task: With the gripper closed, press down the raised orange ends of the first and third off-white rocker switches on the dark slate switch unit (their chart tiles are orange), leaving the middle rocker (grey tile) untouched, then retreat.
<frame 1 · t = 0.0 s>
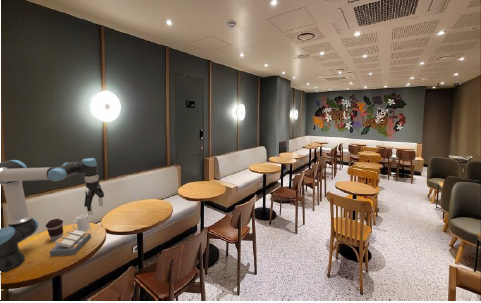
hand: (96, 210, 150), 28 cm above the table, fingers open, 13 cm apart
mug: (81, 230, 177), on the table
switch unit: (72, 246, 156), on the table
rocker 1: (65, 242, 149), point 7 cm above the table, hinge at 20.0°
rocker 3: (76, 233, 161), point 7 cm above the table, hinge at 20.0°
coffee cup: (57, 239, 166), on the table
rocker 2: (70, 237, 155), point 7 cm above the table, hinge at 20.0°
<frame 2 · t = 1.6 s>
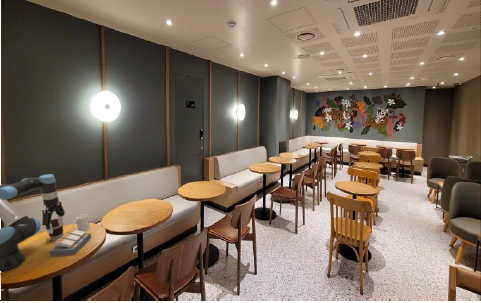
hand: (56, 229, 146), 18 cm above the table, fingers open, 10 cm apart
nothing on the table moved.
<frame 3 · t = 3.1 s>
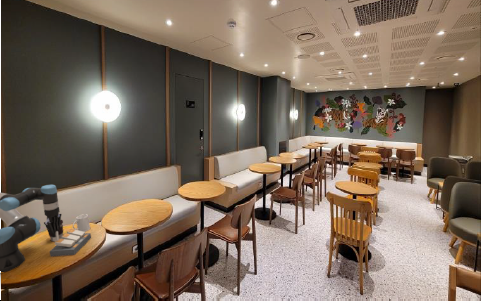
hand: (56, 240, 148), 9 cm above the table, fingers closed
rocker 1: (65, 242, 149), point 7 cm above the table, hinge at 13.6°, touching gripper
everything else where it was.
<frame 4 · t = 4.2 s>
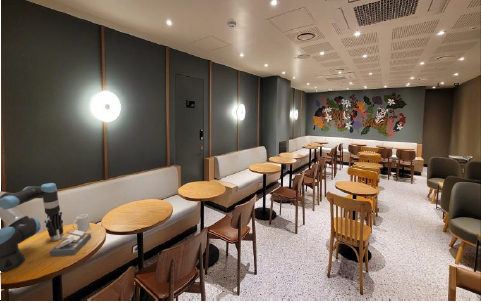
hand: (57, 238, 148), 10 cm above the table, fingers closed
rocker 1: (64, 242, 149), point 7 cm above the table, hinge at -23.8°
everything else where it was.
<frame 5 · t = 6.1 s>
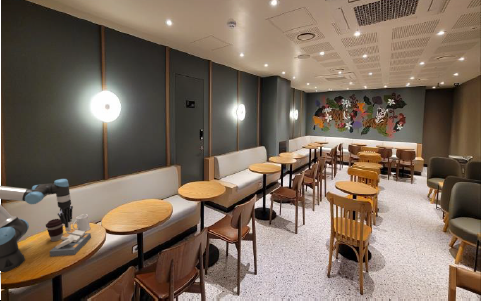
hand: (68, 230, 160), 9 cm above the table, fingers closed
rocker 1: (64, 242, 149), point 7 cm above the table, hinge at -24.4°
rocker 3: (76, 233, 161), point 7 cm above the table, hinge at 16.5°, touching gripper
everything else where it was.
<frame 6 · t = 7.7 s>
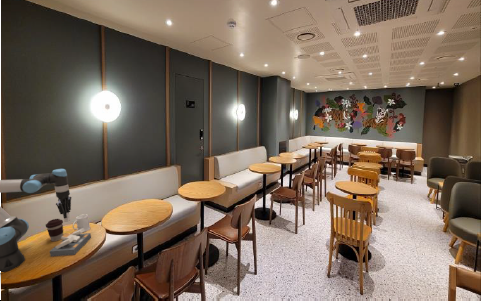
hand: (67, 221, 158), 17 cm above the table, fingers closed
rocker 3: (76, 233, 161), point 7 cm above the table, hinge at -21.1°
everything else where it was.
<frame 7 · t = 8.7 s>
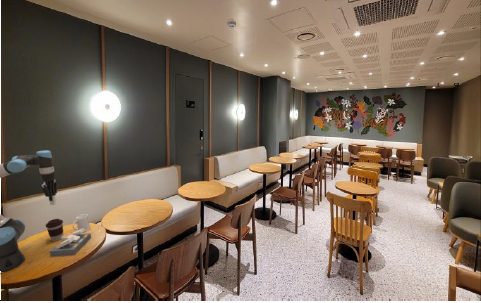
hand: (53, 204, 155), 30 cm above the table, fingers closed
rocker 3: (76, 233, 161), point 7 cm above the table, hinge at -20.2°
everything else where it was.
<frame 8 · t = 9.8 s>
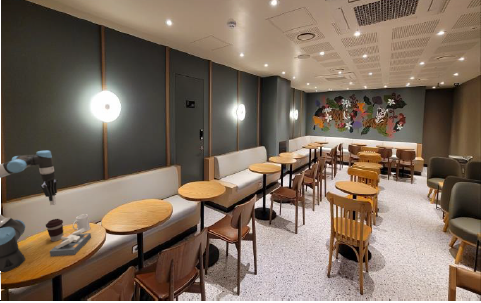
hand: (53, 204, 155), 30 cm above the table, fingers closed
nothing on the table moved.
at the end: rocker 1 at -24° (first picture: +20°); rocker 3 at -20° (first picture: +20°); rocker 2 at +20° (first picture: +20°) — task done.
